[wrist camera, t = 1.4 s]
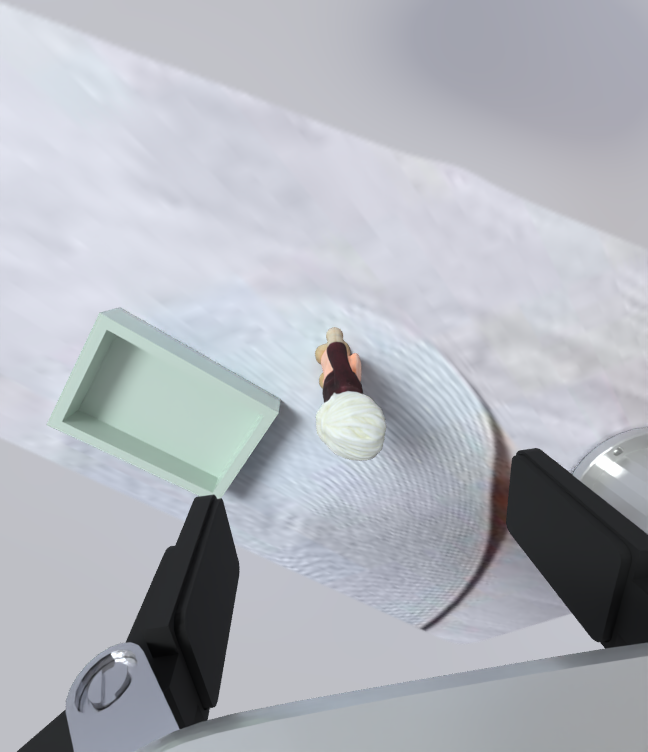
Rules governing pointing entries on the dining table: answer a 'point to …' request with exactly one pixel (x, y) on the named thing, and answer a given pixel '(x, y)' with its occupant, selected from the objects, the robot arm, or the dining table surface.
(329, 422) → the grandmother figurine
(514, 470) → the robot arm
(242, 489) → the dining table surface
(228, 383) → the tray
